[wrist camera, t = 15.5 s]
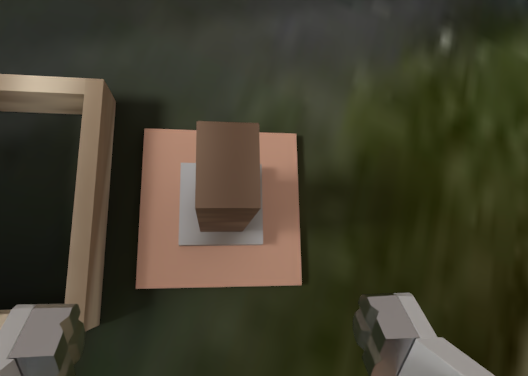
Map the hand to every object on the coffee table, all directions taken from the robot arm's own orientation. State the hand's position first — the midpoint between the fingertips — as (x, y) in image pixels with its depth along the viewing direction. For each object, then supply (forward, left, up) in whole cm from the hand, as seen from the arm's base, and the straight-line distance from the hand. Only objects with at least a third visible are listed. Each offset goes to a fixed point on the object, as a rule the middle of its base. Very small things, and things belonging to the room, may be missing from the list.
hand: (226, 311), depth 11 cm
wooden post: (0, +5, -12) cm, 13 cm away
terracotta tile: (0, +5, -13) cm, 14 cm away
